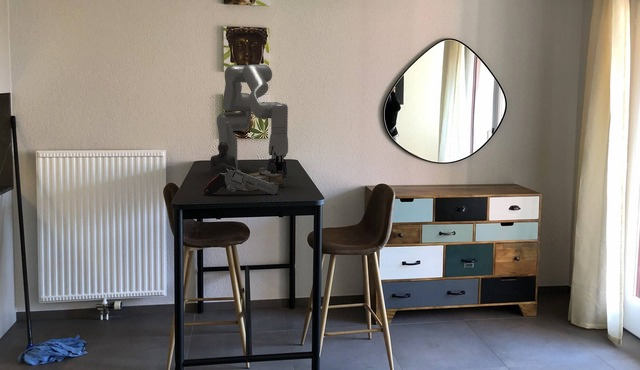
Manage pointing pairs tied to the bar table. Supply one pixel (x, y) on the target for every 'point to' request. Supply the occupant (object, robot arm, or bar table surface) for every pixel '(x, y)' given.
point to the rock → (283, 172)
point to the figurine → (222, 160)
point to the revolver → (226, 180)
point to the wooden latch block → (263, 177)
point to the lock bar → (270, 173)
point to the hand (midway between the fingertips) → (278, 170)
